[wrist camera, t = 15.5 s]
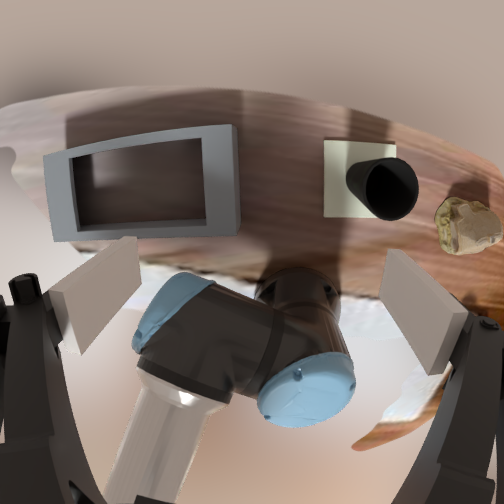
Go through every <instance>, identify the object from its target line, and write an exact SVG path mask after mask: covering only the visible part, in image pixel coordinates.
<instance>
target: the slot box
mask: <svg viewBox="0 0 504 504" xmlns="http://www.w3.org/2000/svg"><path fill="white" fill-rule="evenodd" d="M194 138H202V159H203V177H204V194H205V209H206V219H184V220H162V221H143V222H125V223H110V224H95V225H82V226H80V223H79V217H78V210H77V202H76V194H75V185H74V175H73V163H72V158H74V157H78V156H83V155H88V154H93V153H98V152H103V151H108V150H113V149H119V148H125V147H131V146H137V145H144V144H151V143H159V142H167V141H175V140H184V139H194ZM43 163H44V175H45V185H46V194H47V202H48V209H49V216H50V222H51V227H52V233H53V238H54V242H67V241H89V240H114V239H121V238H122V237H124V236H136V237H137V239H142V238H174V237H212V236H237V233H238V231H239V228H240V226H241V207H240V183H239V159H238V133H237V128H236V127H235V126H234V125H232V124H223V125H210V126H199V127H189V128H180V129H172V130H164V131H157V132H150V133H144V134H138V135H132V136H126V137H121V138H115V139H110V140H105V141H101V142H96V143H91V144H87V145H83V146H78V147H74V148H70V149H66V150H63V151H59V152H55V153H51V154H48V155H44V156H43Z"/></svg>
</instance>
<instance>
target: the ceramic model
mask: <svg viewBox="0 0 504 504" xmlns="http://www.w3.org/2000/svg"><path fill="white" fill-rule="evenodd" d="M435 223H436V225H437V228H438V233H439V241H440V246H441V248H442V249H443V250H444V251H446V252H447V253H452V254H454V255H462V254H469V253H471V254H473V253H478V252H481V251H483V250H484V249H485V248H487V247H490V246H492V245H493V244H495V243H497V242H498V241H499V240H501V239H502V237H503V227H502V224H501V222H500V220H499V218H498V216H497V215H496V214H495V213H494V212H492V211H491V210H490V209H489V208H488V207H485V206H484V205H482V204H481V203H480V202H479V201H472V202H470V201H467V200H463V199H460V198H458V197H450V198H448V199H447V200H445V202H444V203H443V204H442V206H440V208H439V209H438V211H437V212H436V215H435Z"/></svg>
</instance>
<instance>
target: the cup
mask: <svg viewBox="0 0 504 504" xmlns="http://www.w3.org/2000/svg"><path fill="white" fill-rule="evenodd" d="M346 185H347V187H348V189H349V190H350V192H351V193H352V194H353V195H354V196H355V197H356V198H357V199H358V200H359V201H360V202H361V203H362V204H363V205H364V206H365V207H366V208H367V209H368V210H369V211H370V212H371V213H372V214H374V215H375V216H376V217H378V218H380V219H383V220H387V221H394V220H399V219H401V218H403V217H405V216H406V215H407V214H408V213H410V211H411V210H412V209H413V207H414V206H415V203H416V201H417V198H418V194H419V185H418V180H417V177H416V174H415V172H414V171H413V169H412V168H411V166H410V165H408V164H407V163H406V162H405V161H403V160H401V159H399V158H394V157H386V158H380V159H374V160H368V161H362V162H357V163H355V164H353V165H352V166H351V167H350V168H349V169H348V171H347V173H346Z"/></svg>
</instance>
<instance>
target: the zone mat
mask: <svg viewBox="0 0 504 504" xmlns="http://www.w3.org/2000/svg"><path fill="white" fill-rule="evenodd" d="M323 142H324V214H323V217H357V218H378V217H376V216H375V215H374V214H372V213H371V212H370V211H369V210H368V209H367V208H366V207H365V206H364V205H363V204H362V203H361V202H360V201H359V200H358V199H357V198H356V197H355V196H354V195H353V194H352V193H351V192H350V190H349V189H348V187H347V185H346V173H347V171H348V169H349V168H350V167H351V166H352V165H353V164H355V163H357V162H362V161H368V160H374V159H380V158H386V157H394V158H396V145H391V144H380V143H368V142H353V141H333V140H323Z"/></svg>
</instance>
